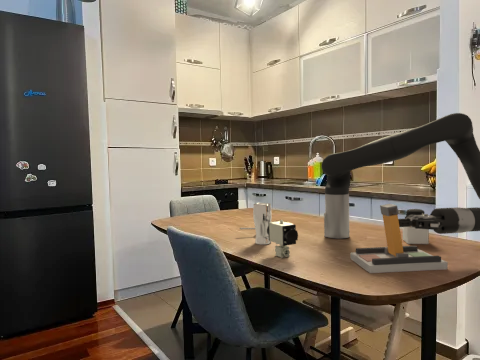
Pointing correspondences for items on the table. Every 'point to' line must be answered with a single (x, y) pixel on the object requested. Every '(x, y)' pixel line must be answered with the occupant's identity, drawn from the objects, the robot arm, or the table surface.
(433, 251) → the table surface
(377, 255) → the breaker panel
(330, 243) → the table surface
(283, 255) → the pneumatic valve
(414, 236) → the medicine bottle
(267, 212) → the beer glass
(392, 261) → the dark grey mounting rails
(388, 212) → the lever
